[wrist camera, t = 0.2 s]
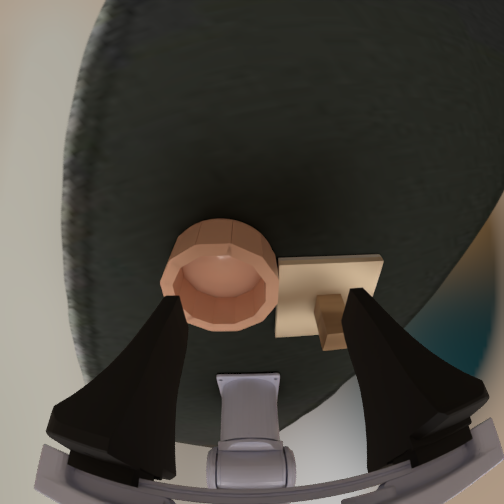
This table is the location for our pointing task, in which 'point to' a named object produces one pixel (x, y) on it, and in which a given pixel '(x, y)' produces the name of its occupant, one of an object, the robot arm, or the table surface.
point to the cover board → (321, 296)
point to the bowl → (222, 275)
